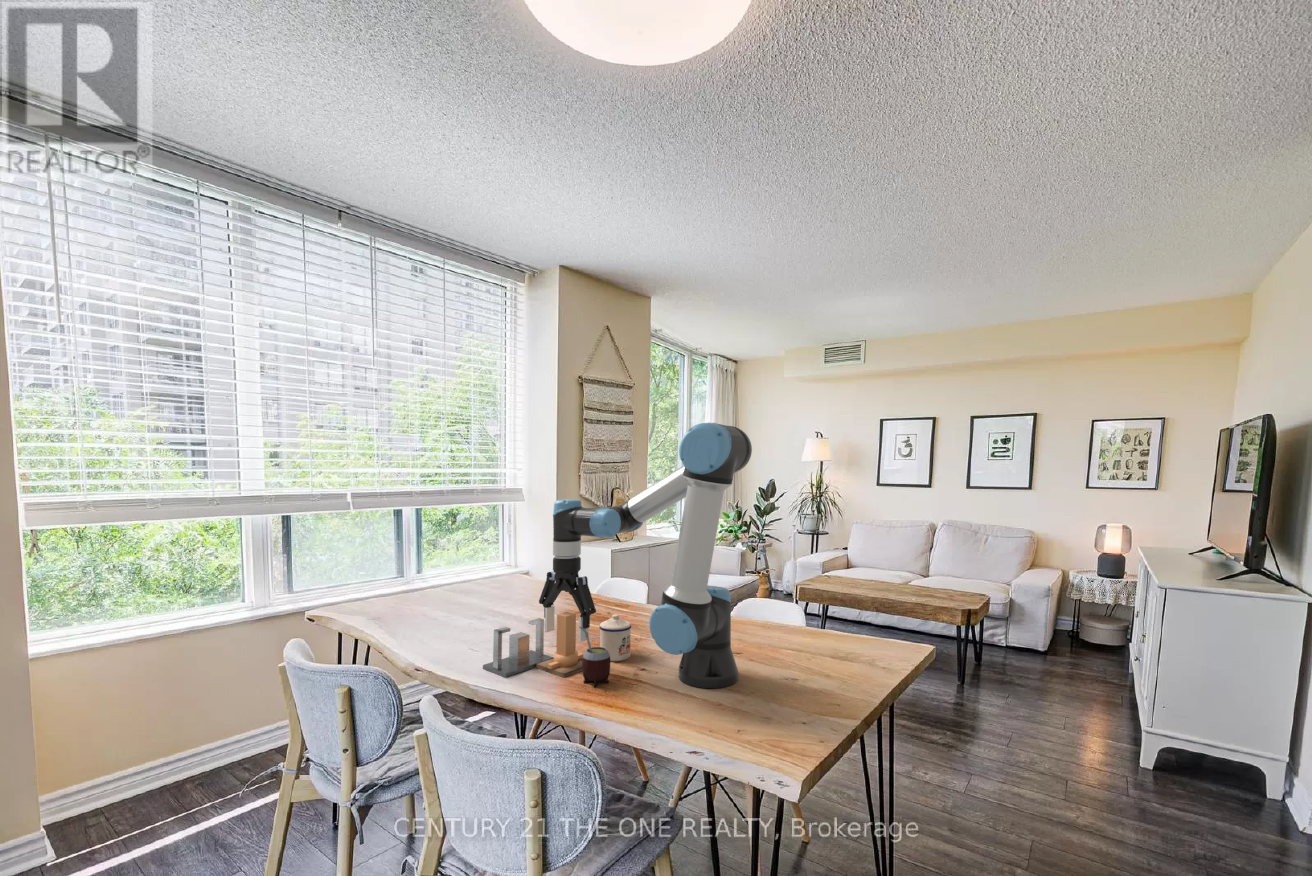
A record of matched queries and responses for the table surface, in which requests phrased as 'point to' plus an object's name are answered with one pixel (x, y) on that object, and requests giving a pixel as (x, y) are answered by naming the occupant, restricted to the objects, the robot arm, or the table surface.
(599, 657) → the mate gourd
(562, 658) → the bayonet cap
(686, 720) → the table surface
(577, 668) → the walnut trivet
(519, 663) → the grey double hook stand
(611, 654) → the teacup with lid
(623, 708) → the table surface
